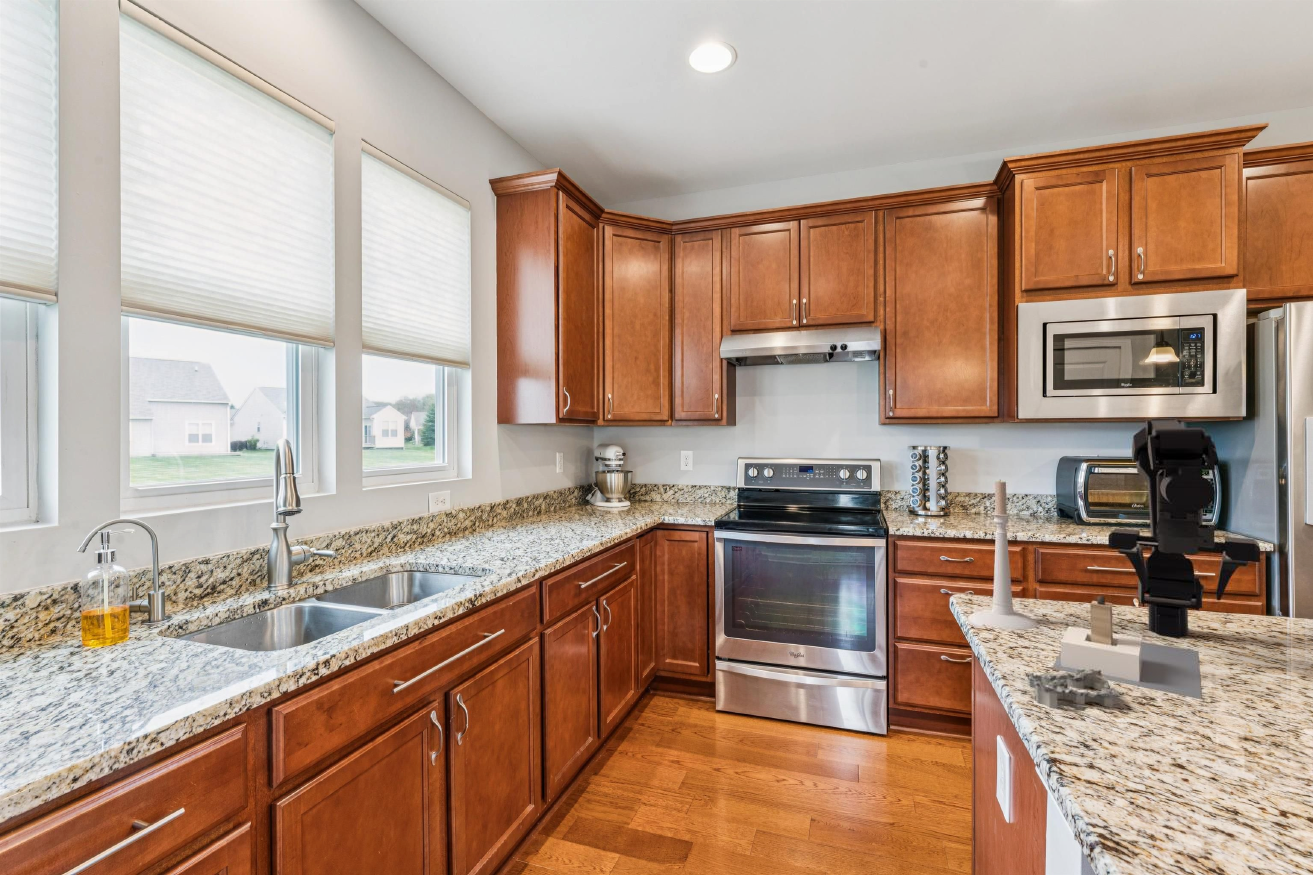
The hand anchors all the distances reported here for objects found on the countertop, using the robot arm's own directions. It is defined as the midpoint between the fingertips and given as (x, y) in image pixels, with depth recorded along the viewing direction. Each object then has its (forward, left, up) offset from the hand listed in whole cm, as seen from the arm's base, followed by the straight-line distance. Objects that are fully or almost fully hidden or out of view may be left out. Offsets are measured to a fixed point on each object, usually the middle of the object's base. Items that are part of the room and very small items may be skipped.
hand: (1180, 594), depth 99 cm
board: (+6, -7, -12) cm, 15 cm away
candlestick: (-5, -27, -12) cm, 30 cm away
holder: (+11, -10, -11) cm, 18 cm away
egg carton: (+27, -12, -12) cm, 32 cm away
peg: (+11, -10, -11) cm, 18 cm away
